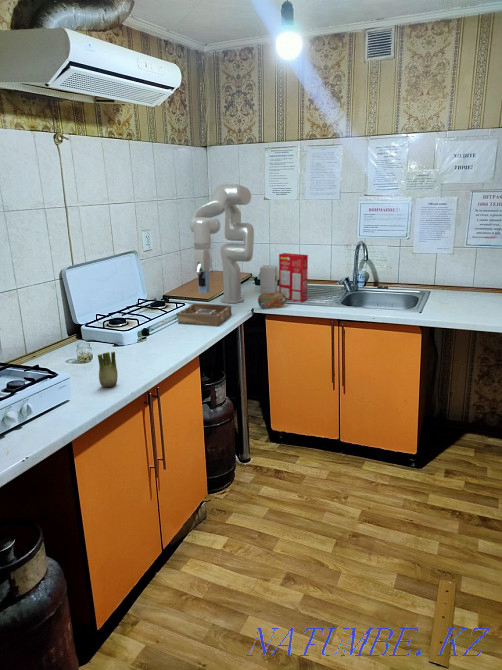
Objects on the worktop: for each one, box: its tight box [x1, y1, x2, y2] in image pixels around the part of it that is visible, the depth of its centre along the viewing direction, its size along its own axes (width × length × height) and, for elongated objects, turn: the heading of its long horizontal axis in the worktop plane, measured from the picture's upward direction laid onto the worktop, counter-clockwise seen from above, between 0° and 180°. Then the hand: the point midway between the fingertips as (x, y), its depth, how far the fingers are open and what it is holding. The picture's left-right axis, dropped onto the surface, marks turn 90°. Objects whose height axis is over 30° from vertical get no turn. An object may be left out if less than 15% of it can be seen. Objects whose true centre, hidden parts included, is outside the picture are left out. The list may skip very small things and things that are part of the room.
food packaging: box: [278, 252, 309, 303], centre depth 284 cm, size 15×5×25 cm, turn 56°
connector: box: [197, 269, 211, 294], centre depth 245 cm, size 4×4×12 cm
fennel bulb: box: [97, 351, 118, 388], centre depth 172 cm, size 6×5×12 cm
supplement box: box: [259, 264, 278, 294], centre depth 305 cm, size 9×9×15 cm
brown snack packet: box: [257, 291, 287, 310], centre depth 270 cm, size 15×3×8 cm, turn 105°
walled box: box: [177, 303, 232, 327], centre depth 251 cm, size 20×20×5 cm
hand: (203, 284), depth 246 cm, fingers closed on connector, 4 cm apart
